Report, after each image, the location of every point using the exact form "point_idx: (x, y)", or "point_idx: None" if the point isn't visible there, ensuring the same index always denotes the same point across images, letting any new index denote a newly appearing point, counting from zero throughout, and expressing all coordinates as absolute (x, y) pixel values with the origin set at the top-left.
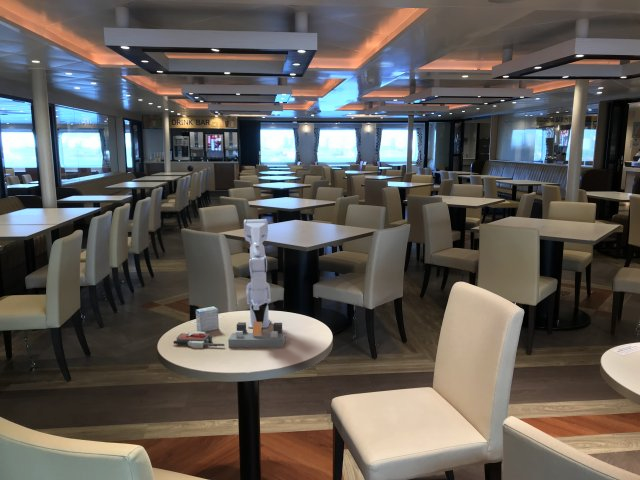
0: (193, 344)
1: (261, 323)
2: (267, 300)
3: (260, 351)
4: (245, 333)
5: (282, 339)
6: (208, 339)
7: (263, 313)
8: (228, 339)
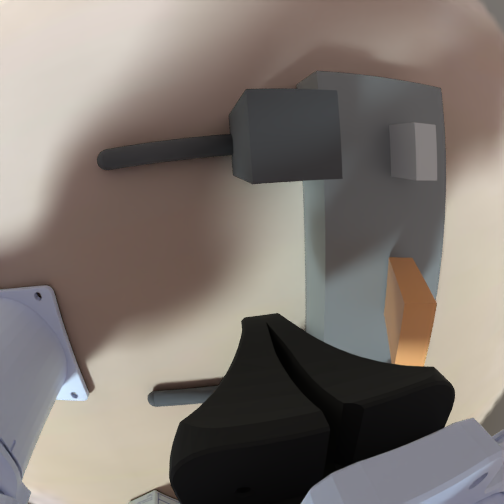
0: None
1: (416, 296)
2: (490, 475)
3: (452, 217)
4: None
5: (434, 88)
6: None
7: (353, 356)
8: None
